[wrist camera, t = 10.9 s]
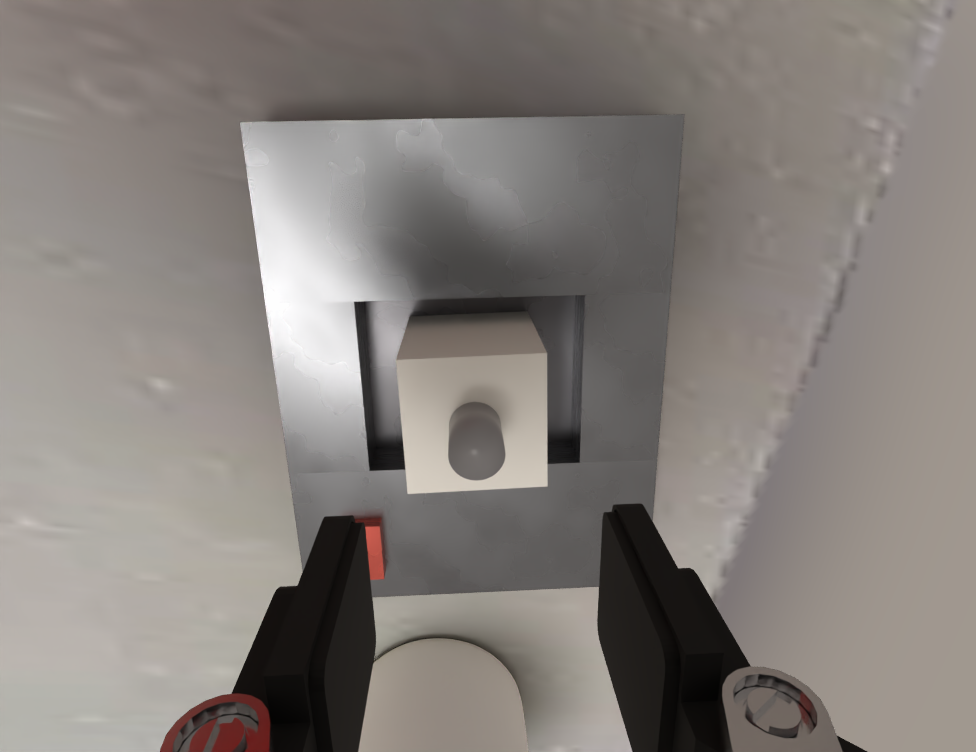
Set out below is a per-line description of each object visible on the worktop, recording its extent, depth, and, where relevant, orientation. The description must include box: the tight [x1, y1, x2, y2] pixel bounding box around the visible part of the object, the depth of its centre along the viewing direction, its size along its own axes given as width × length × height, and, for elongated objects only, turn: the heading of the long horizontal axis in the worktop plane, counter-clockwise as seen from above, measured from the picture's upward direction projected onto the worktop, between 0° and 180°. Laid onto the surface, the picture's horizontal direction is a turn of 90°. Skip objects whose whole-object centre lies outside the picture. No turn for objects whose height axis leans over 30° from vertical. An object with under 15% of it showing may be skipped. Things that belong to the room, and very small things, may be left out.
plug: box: [396, 311, 548, 494], centre depth 21 cm, size 4×4×8 cm
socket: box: [240, 114, 685, 597], centre depth 23 cm, size 18×14×3 cm
